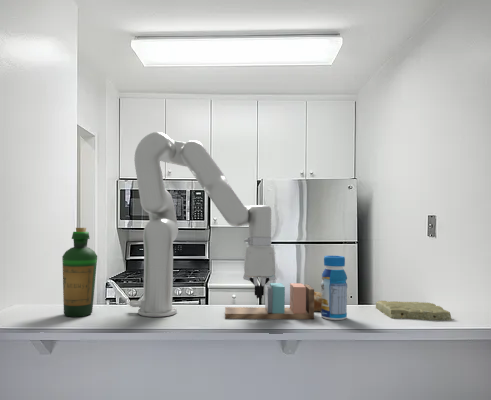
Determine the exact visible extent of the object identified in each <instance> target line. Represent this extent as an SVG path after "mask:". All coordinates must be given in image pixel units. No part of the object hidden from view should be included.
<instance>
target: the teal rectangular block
mask: <svg viewBox="0 0 491 400" xmlns="http://www.w3.org/2000/svg"><path fill="white" fill-rule="evenodd" d="M269 284H270V285H271V287H272V288H273V301H272V313H285V308H286V307H285V306H286V305H285V303H286V302H285V301H286V300H285V295H286V286H285V285H284V284H283V283H281V282H270V283H269Z"/></svg>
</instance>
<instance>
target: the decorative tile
mask: <svg viewBox="0 0 491 400" xmlns="http://www.w3.org/2000/svg"><path fill="white" fill-rule="evenodd" d="M375 309H377V310H379V311H380V312H381V313H383V314H384V315H385V316H387V317H388V318H389V319H406V320H407V319H410V320H421V321H425V320H427V321H452V316H451V312H450V311H448V310H446V309H444V308H443V307H442V306H440V305H436V304H435V303H433V302H432V303H431V302H424V301H423V302H419V301H388V300H378V301H377V302H375Z"/></svg>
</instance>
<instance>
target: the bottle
mask: <svg viewBox="0 0 491 400" xmlns="http://www.w3.org/2000/svg"><path fill="white" fill-rule="evenodd" d="M71 240H73V247H70V248H69V249H67V250H66V251H65V252H64V253H63V255H62V256H61V257H62V261H61V262H62V290H63V291H62V294H63V295H62V297H63V299H62V302H63V314H64V316H65V317H68V318H80V317H81V318H82V317H86V316H89V315H91V314H92V313H93V309H94V308H93V306H94V298H95V297H94V296H95V284H96V275H97V265H98V263H97V262H98V255H97V253H96V252H95V250H93V249H92V248H90V247H88V241H89V240H90V233H89V231H87V227H75V231H73V232H72V236H71Z"/></svg>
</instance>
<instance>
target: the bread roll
mask: <svg viewBox="0 0 491 400" xmlns="http://www.w3.org/2000/svg"><path fill="white" fill-rule="evenodd" d="M321 311H322V292H320V291H314V313H315V312H321Z"/></svg>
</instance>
